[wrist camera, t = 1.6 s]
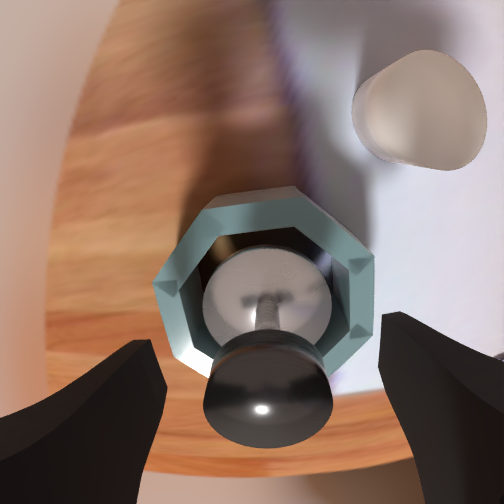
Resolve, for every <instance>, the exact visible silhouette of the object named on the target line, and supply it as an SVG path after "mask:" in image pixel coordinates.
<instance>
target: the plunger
mask: <svg viewBox="0 0 504 504" xmlns="http://www.w3.org/2000/svg"><path fill="white" fill-rule="evenodd" d="M331 311H332V301H331V294H330V291H329V287H328V285H327V283H326V281H325V278H324V276H323V274H322V273H321V271H320V270H319V268H318V267H317V266H316V265H315V264H314V262H312V261H311V260H310V259H309V258H308V257H306V256H305V255H303V254H302V253H300V252H298V251H296V250H294V249H291V248H288V247H285V246H280V245H273V244H262V245H255V246H250V247H247V248H244V249H241V250H239V251H237V252H235V253H233V254H232V255H230V256H228V257H227V258H226V259H225V260H224V261H222V262H221V263H220V264H219V266H218V267H217V268H216V269H215V271H214V272H213V274H212V275H211V277H210V279H209V282H208V284H207V286H206V289H205V293H204V296H203V316H204V320H205V323H206V326H207V328H208V330H209V332H210V333H211V335H212V337H213V338H214V339H215V340H216V341H217V343H218V344H219V345H221V346H222V347H221V348H220V350H219V351H218V352H217V353H216V355H215V357H214V359H213V362H212V365H211V370H210V374H209V378H208V383H207V387H206V391H205V396H204V401H203V410H204V414H205V417H206V419H207V421H208V422H209V424H210V425H211V426H212V427H213V429H214V430H215V431H217V432H218V433H219V434H220V435H222V436H223V437H225V438H227V439H229V440H230V441H233V442H235V443H238V444H241V445H244V446H249V447H254V448H280V447H285V446H290V445H293V444H297V443H299V442H302V441H304V440H306V439H308V438H310V437H311V436H313V435H314V434H316V433H317V432H318V431H319V430H320V429H321V428H322V427H323V426H324V425H325V424H326V422H327V421H328V419H329V418H330V416H331V413H332V409H333V398H332V393H331V389H330V385H329V381H328V377H327V373H326V369H325V365H324V361H323V358H322V356H321V354H320V353H319V351H318V350H317V348H316V347H315V346H314V344H315V343H316V342H317V341H318V340H319V339H320V338H321V336H322V335H323V333H324V332H325V330H326V328H327V326H328V323H329V320H330V316H331Z"/></svg>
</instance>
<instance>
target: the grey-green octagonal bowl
mask: <svg viewBox="0 0 504 504" xmlns="http://www.w3.org/2000/svg"><path fill="white" fill-rule="evenodd" d="M286 227H295V228H297V229H298V230H299V231H301V232H302V233H303V234H304V235H306V236H307V237H308V238H310V239H311V240H312V241H313V242H315V243H316V244H317V245H318V246H320V247H321V248H322V249H323V250H325V251H326V252H327V253H329V254H330V255H331V256H332V269H333V289H334V294H333V295H332V297H331V301H332V311H331V316H330V320H329V323H328V326H327V328H326V330H325V332H324V333H323V335H322V336H321V338H320V339H319V340H318V341H317V342H316V343H315V344H314V346H315V347H316V348H317V350H318V351H319V353H320V354H321V356H322V358H323V361H324V365H325V369H326V373H327V377H328V378H329V377H330V376H331V375H332V374H333V373H334V372H335V371H336V370H337V369H338V368H339V367H341V366H342V365H343V364H344V363H345V362H346V361H347V360H348V359H349V358H350V357H351V356H352V355H353V354H354V353H355V352H356V351H357V350H358V349H359V348H360V347H361V346H362V345H363V344H365V343H366V342H367V341H368V340H369V339H370V337H371V336H372V335H373V319H374V255H373V254H372V253H371V252H370V251H369V250H368V249H367V248H366V247H365V246H364V245H363V244H362V243H361V242H360V241H359V240H358V239H357V238H356V237H355V236H354V235H353V234H352V233H351V232H350V231H349V230H348V229H346V228H345V227H344V226H343V225H342V224H340V223H339V222H338V221H337V220H336V219H334V218H333V217H332V216H331V215H330V214H328V213H327V212H326V211H325V210H324V209H322V208H321V207H320V206H319V205H317V204H316V203H315V202H314V201H312V200H311V199H310V198H309V197H307V196H306V195H305V194H304V193H302V192H301V191H300V190H299V189H297V188H296V187H295V186H294V185H293V186H285V187H277V188H269V189H261V190H254V191H246V192H239V193H232V194H225V195H218V196H215V197H214V198H213V199H212V200H211V201H210V202H209V203H208V204H207V205H206V206H205V207H204V208H203V209H202V210H201V212H200V213H199V215H198V216H197V218H196V219H195V220H194V222H193V223H192V225H191V226H190V228H189V229H188V230H187V232H186V233H185V235H184V236H183V238H182V239H181V240H180V242H179V243H178V245H177V246H176V248H175V249H174V251H173V252H172V254H171V255H170V257H169V258H168V260H167V261H166V263H165V264H164V266H163V267H162V269H161V270H160V272H159V273H158V275H157V276H156V278H155V279H154V281H153V282H152V284H153V287H154V291H155V295H156V298H157V302H158V306H159V309H160V313H161V316H162V320H163V323H164V326H165V330H166V333H167V336H168V340H169V343H170V346H171V349H172V352H173V356H174V357H175V358H177V359H179V360H180V361H182V362H183V363H185V364H186V365H188V366H190V367H191V368H193V369H195V370H196V371H198V372H200V373H201V374H203V375H205V376H206V377H208V378H209V374H210V370H211V365H212V362H213V359H214V357H215V355H216V353H217V352H218V351H219V350H220V348H221V347H222V346H221V345H219V344H218V343H217V341H216V340H215V339H214V338H213V337H212V335H211V333H210V332H209V330H208V328H207V326H206V323H205V320H204V316H203V296H204V293H203V288H202V283H201V279H200V274H199V269H198V263H199V262H200V260H201V259H202V257H203V256H204V255H205V253H206V252H207V251H208V249H209V248H210V247H211V245H212V244H213V243H214V241H215V240H216V239H217V237H218V236H223V235H230V234H238V233H246V232H254V231H261V230H269V229H278V228H286Z"/></svg>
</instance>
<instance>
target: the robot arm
mask: <svg viewBox="0 0 504 504" xmlns="http://www.w3.org/2000/svg"><path fill="white" fill-rule="evenodd" d="M378 368H379V372H380V375H381V378H382V382H383V385H384V388H385V391H386V394H387V396H388V398H389V401H390V403H391V405H392V407H393V409H394V411H395V414H396V416H397V418H398V420H399V422H400V425H401V427H402V429H403V431H404V433H405V436H406V438H407V440H408V442H409V445H410V447H411V450H412V453H413V455H414V459H415V462H416V466H417V469H418V473H419V477H420V481H421V485H422V490H423V494H424V499H425V504H504V360H498V359H496V358H493V357H490V356H487V355H485V354H482V353H480V352H478V351H475V350H473V349H471V348H469V347H467V346H465V345H463V344H461V343H459V342H457V341H455V340H453V339H451V338H449V337H447V336H445V335H443V334H441V333H440V332H438V331H436V330H434V329H432V328H431V327H429V326H427V325H425V324H423V323H422V322H420V321H418V320H416V319H414V318H413V317H411V316H409V315H407V314H405V313H403V312H400V311H399V312H393V313H388V314H382V322H381V338H380V351H379V362H378ZM166 393H167V385H166V382H165V380H164V377H163V374H162V372H161V369H160V366H159V363H158V361H157V358H156V355H155V352H154V349H153V346H152V343H151V340H150V339H147V340H133V341H131V342H129V343H127V344H126V345H124V346H123V347H121V348H120V349H119V350H117V351H116V352H114V353H113V354H112V355H110V356H109V357H107V358H106V359H105V360H103V361H102V362H101V363H99V364H98V365H96V366H95V367H94V368H92V369H91V370H90V371H88V372H87V373H85V374H84V375H82V376H81V377H79V378H78V379H76V380H75V381H73V382H72V383H70V384H69V385H67V386H66V387H64V388H63V389H61V390H60V391H58V392H56V393H54V394H53V395H51V396H49V397H47V398H45V399H44V400H42V401H40V402H38V403H36V404H34V405H32V406H29V407H27V408H24V409H22V410H20V411H17V412H15V413H12V414H10V415H7V416H5V417H2V418H0V504H136V503H137V497H138V492H139V487H140V481H141V477H142V473H143V469H144V466H145V463H146V460H147V457H148V454H149V451H150V449H151V446H152V443H153V440H154V437H155V434H156V431H157V429H158V426H159V423H160V420H161V417H162V414H163V409H164V404H165V399H166Z"/></svg>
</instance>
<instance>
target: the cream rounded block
mask: <svg viewBox="0 0 504 504" xmlns="http://www.w3.org/2000/svg"><path fill="white" fill-rule="evenodd" d="M352 120H353V125H354V128H355V131H356V133H357V135H358V137H359V139H360V141H361V142H362V143H363V145H364V146H365V147H366V148H367V149H368V150H369V151H370V152H371V153H372V154H374V155H375V156H377V157H378V158H380V159H382V160H385V161H388V162H392V163H399V164H406V165H412V166H419V167H425V168H431V169H437V170H445V171H449V170H456V169H459V168H462V167H464V166H466V165H467V164H468V163H470V162H471V161H472V160H473V159H474V158H475V157H476V156H477V154H478V153H479V151H480V150H481V148H482V145H483V143H484V140H485V136H486V131H487V112H486V106H485V102H484V99H483V96H482V93H481V91H480V89H479V87H478V85H477V83H476V81H475V80H474V78H473V77H472V76H471V74H470V73H469V72H468V71H467V70H466V68H465V67H464V66H463V65H461V64H460V63H459V62H458V61H456V60H455V59H453V58H452V57H450V56H448V55H446V54H444V53H441V52H438V51H434V50H418V51H415V52H412V53H410V54H408V55H406V56H404V57H402V58H401V59H399V60H397V61H396V62H394V63H392V64H391V65H389V66H388V67H386V68H384V69H383V70H381V71H380V72H378V73H376V74H375V75H373V76H372V77H370V78H369V79H367V80H366V81H365V82H363V84H362V85H361V86H360V87H359V88H358V90H357V92H356V94H355V96H354V99H353V103H352Z"/></svg>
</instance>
